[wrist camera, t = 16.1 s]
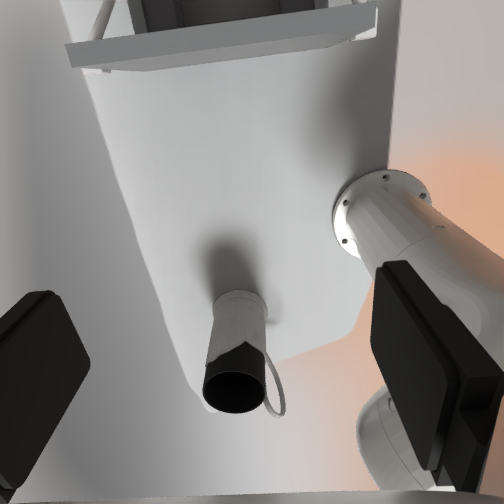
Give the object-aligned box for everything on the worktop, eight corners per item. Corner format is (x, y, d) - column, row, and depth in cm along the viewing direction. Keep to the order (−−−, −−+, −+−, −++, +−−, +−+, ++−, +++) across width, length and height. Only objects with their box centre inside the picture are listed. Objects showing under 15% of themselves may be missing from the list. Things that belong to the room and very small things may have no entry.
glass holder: (242, 279, 49) (236, 355, 36) (299, 334, 54) (313, 418, 40) (201, 310, 52) (181, 390, 38) (259, 359, 56) (260, 445, 43)
